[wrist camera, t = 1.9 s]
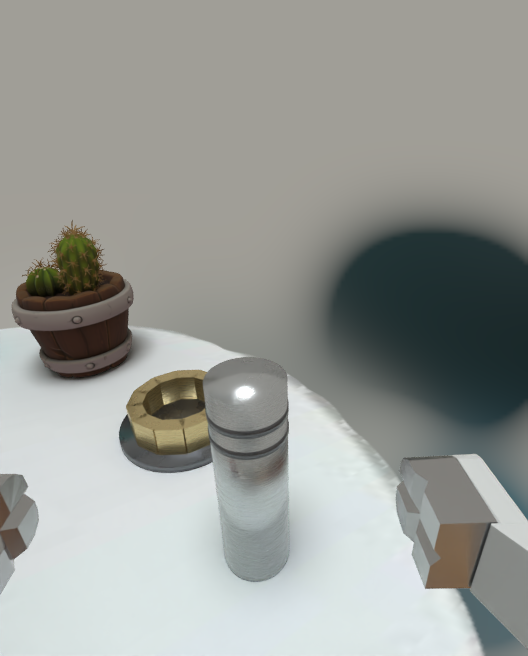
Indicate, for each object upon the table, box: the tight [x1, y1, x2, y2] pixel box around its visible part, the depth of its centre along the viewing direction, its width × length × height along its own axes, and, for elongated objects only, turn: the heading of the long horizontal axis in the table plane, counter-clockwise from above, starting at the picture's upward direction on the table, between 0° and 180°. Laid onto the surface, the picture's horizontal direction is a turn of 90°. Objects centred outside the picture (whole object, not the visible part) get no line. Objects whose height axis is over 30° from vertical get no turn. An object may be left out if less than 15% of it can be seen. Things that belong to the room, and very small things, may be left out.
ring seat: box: [119, 370, 213, 472], centre depth 40 cm, size 13×13×4 cm
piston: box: [203, 357, 289, 582], centre depth 25 cm, size 5×5×15 cm
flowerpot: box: [12, 224, 133, 378], centre depth 50 cm, size 14×15×20 cm
